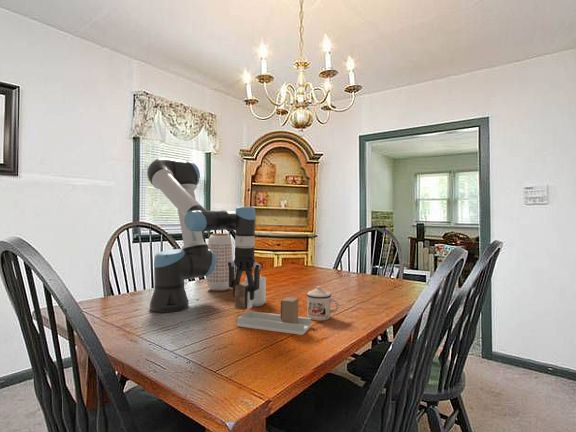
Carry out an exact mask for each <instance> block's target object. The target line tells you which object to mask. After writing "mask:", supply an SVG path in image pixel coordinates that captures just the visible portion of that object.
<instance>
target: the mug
mask: <svg viewBox="0 0 576 432" xmlns="http://www.w3.org/2000/svg"><path fill="white" fill-rule="evenodd" d="M253 281H254V275H253ZM266 281H267V279H266V277H265V276H261V275H260V282H259V289H258V290H256V291H254V299H253V300H252V307H261V306H263V305H264V304H265V303H266V294H267V292H266V290H267V289H266V288H267V284H266ZM244 283H247V284H248V280H247V276H246V277H245V278H244Z"/></svg>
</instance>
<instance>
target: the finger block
mask: <svg viewBox="0 0 576 432" xmlns="http://www.w3.org/2000/svg"><path fill="white" fill-rule="evenodd" d="M248 291H249V286H248V284H247V283H245V282H241V283H239V284H238V285H235V298H234V310H239V311H240V310H241V311H246V310H248V309H247V295H248Z"/></svg>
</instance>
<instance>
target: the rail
mask: <svg viewBox="0 0 576 432" xmlns="http://www.w3.org/2000/svg"><path fill="white" fill-rule="evenodd" d="M236 326H237V327H242V328H248V329H254V330H255V329H256V330H257V329H258V330H263V331H269V332H270V331H272V332H279V333H286V334H293V335H294V334H295V335H300V336H304V334H305V333H306V332H307V331H308V330H309V329H310V328H311V326H312V319H311V318H308V317H305V316H304V317H303V316H299V297H290V296H286V297H284V299H282V300H280V314H277V313H269V312H260V311H252V310H247V311H246V312H244V313H242V314H241V315H238V316H237V317H236Z"/></svg>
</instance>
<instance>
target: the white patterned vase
mask: <svg viewBox="0 0 576 432" xmlns="http://www.w3.org/2000/svg"><path fill="white" fill-rule="evenodd" d="M207 244H208V249H210V250H212V251H213V252H214V253H215V256H216V266H215V268H214V271H213V272H212V273H211V274H210V275H207V276H205V277H206V285H207V287H208V288H209V289H210V290H211V292H226V291H228V290H230V287H229V267H228V262H231V261H234V257H233V255H234V254H233V244H232V237H231V236H230V235H229V233H227V232H226V233H225V232H223V233H221V232H219V233H212V234H210V236H209V237H208V242H207Z"/></svg>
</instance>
